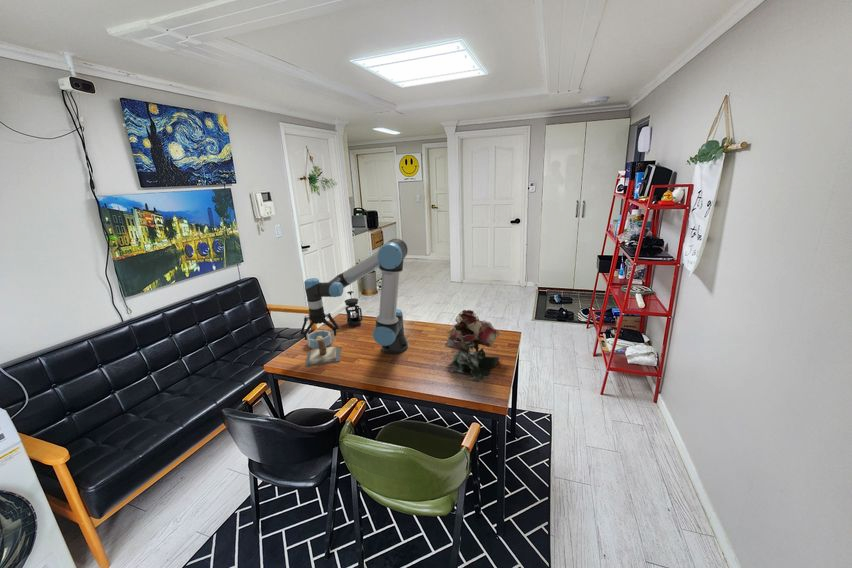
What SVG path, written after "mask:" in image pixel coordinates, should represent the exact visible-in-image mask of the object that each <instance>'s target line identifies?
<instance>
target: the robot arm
mask: <svg viewBox="0 0 852 568" xmlns="http://www.w3.org/2000/svg"><path fill="white" fill-rule="evenodd" d="M408 252H409V251H408V246H407V244H406V242H405V241H404V240H402V239H400V238H392V239H390V240H388V241H387V242H386V243H384V244H383V245H381V247H380V248H379V250H378V251H377V252H375V253H374V254H372V255H370V256H368V257H366V258H365V259H364V260H361V261H360V262H359V263H357V264H355V265H353V266H352V267H350V268H348V269H347V270H345V271H343V272H342V273H339V274H338V275H336V276H335V277H334V278H333V279H331V280H330V281H328V282H327V281H326V282H321V281H320V280H319V278H317V277H310V278H307V279H305V280H304V283H303V284H304V291H305V294H306V303H307V308H308V313H309V316H307V315H305V316H304V318H303V324H302V327H301V329H300V335H301V336H302V335H303V336H304V340H305V341H306V342H307V346H310V340H309V334H310V333H309V331H310V330H311V329H312V327H313V326H314V324H315V325H317V324H322V323H323V324H324V325H326V326H327V327H328V328H329V329H331V332H332V334H331V335H332V339H333V343H335V342H336V336H337V330H339V328H340V326H339V325H338V323H337V322H336V321H335V319H334V317H332V315H331V312H328V313H325V309H324V303H323V297H324V298H326V297H327V298H329V297H330V298H337V297H341V296H342V295H343V293H344V289H345V288H347V287H348V286H350V285H352V284H354V283H355V282H357V281H358V280H360V279H362V278H363V277H365V276H367V275H369V274H371V273H372V272H374V271H375V270H377V269H379V270H380V271H381V281H380V282H381V283H380V298H379V299H380V300H379V312H378V313H379V315H377V316H376V318H375V328H374V330H373V331H372V338H373V340H374V341H375V343H377V344H378V345H379V346H381V350H382V352H384V353H387V354H389V355H392V354H393V355H394V354H400V353H404V352H405V351H406V350H407V349H408V348H409V343H408V339H407V338H406V336H405V329H404V318H403V317H404V314H403V311H402V309H399V308H397V307H398V306H397V305H398V292H399V283H400V282H399V279H400V274H401V272H403V270H404V269H403V268H404V260H405V258H406V257H407V255H408ZM327 319H329V321H330V322H331V323H330V322H329V321H328V320H327ZM308 321H310V322H309V325H308V326H307V327H306V325H307V322H308ZM305 328H306V329H305Z"/></svg>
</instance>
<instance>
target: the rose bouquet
mask: <svg viewBox="0 0 852 568" xmlns="http://www.w3.org/2000/svg"><path fill="white" fill-rule="evenodd" d="M454 320H455V322H456V323H454V324H453V326H451V327H450V329H449V330H447V331H446V334H448V335H447V337H446V338H447V339H446V343H445V344H444V347H445V348H447V349H452V350H455V351H458V352H456V353H455V354H453V359H452V362H451V363H449V364H448V367H450V366H451V367H452V368H451V369H450V372H451V373H455V372H456V373H457V372H458V373H462V374H464V375H467V376H468V375H469V373H468V372H466V370H468V369H470V374H471V375H472V376H473V377H468V379H470V380H473V381H476V382H477V383H479V382H483V381H484V380H485V379H486V377H488V376H489V375H490V374H491V372H492V369H493V368H495V367H496V365H497V364H498V362H499V360H500V357H499V356H486V352H485V351H484V348H483V347H482V348H481V349H480V348H479V347H480V346H479V345H481V346H484V347H488V348H491V347H493V348H494V345H493V344H494V342H495V341H496V340H497V339H496V338H497V337H499V335H500V332H499V331H498V330H496V328H495V326H494V325H493V324H492V323H491V322H490V321H486V320H485V319H483V320H480V319H479V316H478V315H477V313H476V312H474V310H471V309H468V310H466V309H463V310H461V311H460V312H459V313H458V314H457V316H456V318H455V319H454ZM474 350H475V351H474ZM473 351H474V352H473Z"/></svg>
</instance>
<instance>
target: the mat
mask: <svg viewBox="0 0 852 568" xmlns="http://www.w3.org/2000/svg"><path fill="white" fill-rule="evenodd" d="M310 354H311V351H308V352H307V356H306V361H305V367H306V368H307V367H313V366H319V365H327V364H333V363H339V362H340V361H341V347H337V353H336V360H335V361H328V362H322V363H315V364H309V359H310Z"/></svg>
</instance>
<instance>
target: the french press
mask: <svg viewBox="0 0 852 568" xmlns="http://www.w3.org/2000/svg"><path fill="white" fill-rule="evenodd" d="M346 293H347V294H349V296H350V298H347V299H345V300H344V304H345V305H346V307H345V313H346V319H347V320H346V325H347V326H348V327H351V328H354V327H359V326H361V325H362V321H363V314H362V313H363V311H362V308H361V307H360V306H359V305H358V304H359V303H358V302H359V299H358V298H356V297H355V298H354V297H353V298H352V294H353V293H354V291H353V290H351V291H347V292H346ZM349 308H351V309H349ZM353 308H354V309H353Z"/></svg>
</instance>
